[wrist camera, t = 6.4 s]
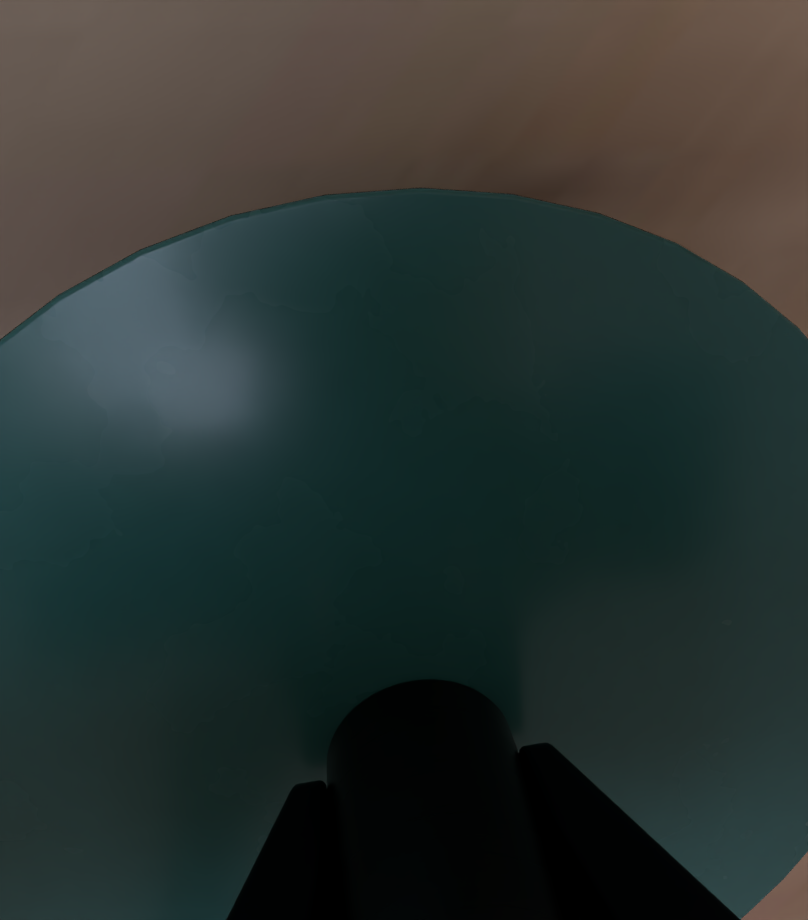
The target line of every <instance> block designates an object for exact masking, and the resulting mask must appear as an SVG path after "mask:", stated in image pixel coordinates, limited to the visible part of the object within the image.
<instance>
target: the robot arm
mask: <svg viewBox="0 0 808 920" xmlns="http://www.w3.org/2000/svg"><path fill="white" fill-rule="evenodd" d="M519 755H520V758H521V761H522V763H523V766H524V769H525V772H526V774H527V777H528V780H529V782H530V785H531V788H532V791H533V793H534V796H535V799H536V802H537V804H538V807H539V810H540V812H541V815H542V818H543V821H544V823H545V826H546V829H547V832H548V834H549V837H550V840H551V842H552V845H553V848H554V851H555V853H556V856H557V859H558V861H559V864H560V867H561V870H562V872H563V875H564V878H565V880H566V883H567V886H568V889H569V891H570V894H571V897H572V900H573V902H574V905H575V908H576V910H577V913H578V916H579V919H580V920H741V919H739V918H738V917H737V916H736V915H735V914H734V913H733V912H732V911H731V910H730V909H729V908H728V907H727V906H725V905H724V904H723V903H722V902H721V901H720V900H719V899H718V898H717V897H716V896H715V895H714V894H713V893H711V892H710V891H709V890H708V889H707V888H706V887H705V886H704V885H703V884H702V883H701V882H700V881H698V880H697V879H696V878H695V877H694V876H693V875H692V874H691V873H690V872H689V871H688V870H687V869H686V868H684V867H683V866H682V865H681V864H680V863H679V862H678V861H677V860H676V859H675V858H674V857H673V856H672V855H670V854H669V853H668V852H667V851H666V850H665V849H664V848H663V847H662V846H661V845H660V844H659V843H658V842H656V841H655V840H654V839H653V838H652V837H651V836H650V835H649V834H648V833H647V832H646V831H645V830H643V829H642V828H641V827H640V826H639V825H638V824H637V823H636V822H635V821H634V820H633V819H632V818H631V817H629V816H628V815H627V814H626V813H625V812H624V811H623V810H622V809H621V808H620V807H619V806H618V805H617V804H615V803H614V802H613V801H612V800H611V799H610V798H609V797H608V796H607V795H606V794H605V793H604V792H603V791H601V790H600V789H599V788H598V787H597V786H596V785H595V784H594V783H593V782H592V781H591V780H590V779H588V778H587V777H586V776H585V775H584V774H583V773H582V772H581V771H580V770H579V769H578V768H577V767H576V766H574V765H573V764H572V763H571V762H570V761H569V760H568V759H567V758H566V757H565V756H564V755H563V754H562V753H560V752H559V751H558V750H557V749H556V748H555V747H554V746H553V745H551V744H550V743H547V742H544V743H538V744H532V745H526V746H523V747H521V748H520V750H519ZM226 920H328V816H327V787H326V784H325V782H323V781H321V780H318V781H312V782H306V783H300V784H296V785H295V786H294V787H293V788H292V789H291V791H290V793H289V795H288V797H287V799H286V801H285V803H284V805H283V807H282V809H281V811H280V813H279V815H278V817H277V819H276V821H275V823H274V825H273V827H272V829H271V831H270V833H269V835H268V837H267V839H266V841H265V843H264V845H263V847H262V849H261V851H260V853H259V855H258V857H257V859H256V861H255V863H254V865H253V867H252V869H251V871H250V873H249V875H248V877H247V879H246V881H245V883H244V885H243V887H242V889H241V891H240V893H239V895H238V897H237V899H236V901H235V903H234V905H233V907H232V909H231V911H230V913H229V915H228V917H227V919H226Z"/></svg>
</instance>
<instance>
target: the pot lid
mask: <svg viewBox="0 0 808 920" xmlns="http://www.w3.org/2000/svg"><path fill="white" fill-rule="evenodd" d="M544 742H547V743H550V744H551V745H553V746H554V747H555V748H556V749H557V750H558V751H559V752H560V753H562V754H563V755H564V756H565V757H566V758H567V759H568V760H569V761H570V762H571V763H572V764H573V765H574V766H576V767H577V768H578V769H579V770H580V771H581V772H582V773H583V774H584V775H585V776H586V777H587V778H588V779H590V780H591V781H592V782H593V783H594V784H595V785H596V786H597V787H598V788H599V789H600V790H601V791H603V792H604V793H605V794H606V795H607V796H608V797H609V798H610V799H611V800H612V801H613V802H614V803H615V804H617V805H618V806H619V807H620V808H621V809H622V810H623V811H624V812H625V813H626V814H627V815H628V816H629V817H631V818H632V819H633V820H634V821H635V822H636V823H637V824H638V825H639V826H640V827H641V828H642V829H643V830H645V831H646V832H647V833H648V834H649V835H650V836H651V837H652V838H653V839H654V840H655V841H656V842H658V843H659V844H660V845H661V846H662V847H663V848H664V849H665V850H666V851H667V852H668V853H669V854H670V855H672V856H673V857H674V858H675V859H676V860H677V861H678V862H679V863H680V864H681V865H682V866H683V867H684V868H686V869H687V870H688V871H689V872H690V873H691V874H692V875H693V876H694V877H695V878H696V879H697V880H698V881H700V882H701V883H702V884H703V885H704V886H705V887H706V888H707V889H708V890H709V891H710V892H711V893H713V894H714V895H715V896H716V897H717V898H718V899H719V900H720V901H721V902H722V903H723V904H724V905H725V906H727V907H728V908H729V909H730V910H731V911H732V912H733V913H734V914H735V915H736V916H737V917H738V918H739V919H741V918H742V917H744V916H745V915H746V914H747V913H748V912H749V911H750V910H751V909H752V908H754V907H755V906H756V905H757V904H758V903H759V902H760V901H761V900H762V899H763V898H764V897H765V896H766V895H767V894H768V893H769V892H770V891H771V890H772V889H774V888H775V887H776V886H777V885H778V884H779V883H780V882H781V881H782V880H783V879H784V878H785V877H786V876H787V874H788V873H789V872H790V871H791V870H792V869H793V868H794V866H795V865H796V864H797V863H798V862H799V861H800V860H801V858H802V857H803V856H804V855H805V854H806V853H807V851H808V339H807V337H806V336H805V335H804V334H803V333H802V332H801V330H800V329H799V328H798V327H797V326H796V325H794V324H793V323H792V322H791V321H790V320H788V319H787V318H786V317H785V316H784V315H782V314H781V313H780V312H779V311H777V310H776V309H775V308H774V307H773V306H771V305H770V304H769V303H768V302H767V301H765V300H764V299H763V298H762V297H761V296H759V295H758V294H757V293H756V292H754V291H753V290H752V289H751V288H750V287H748V286H747V285H746V284H745V283H744V282H742V281H741V280H739V279H737V278H735V277H734V276H732V275H730V274H729V273H727V272H725V271H723V270H722V269H720V268H718V267H717V266H715V265H713V264H711V263H710V262H708V261H706V260H705V259H703V258H701V257H699V256H698V255H696V254H694V253H692V252H691V251H689V250H687V249H686V248H684V247H682V246H680V245H679V244H677V243H675V242H673V241H670V240H667V239H665V238H662V237H660V236H657V235H654V234H652V233H649V232H647V231H644V230H641V229H639V228H636V227H634V226H631V225H629V224H626V223H623V222H621V221H618V220H616V219H613V218H610V217H608V216H605V215H603V214H600V213H597V212H592V211H588V210H583V209H578V208H574V207H569V206H565V205H560V204H556V203H551V202H547V201H542V200H538V199H533V198H528V197H524V196H519V195H515V194H505V193H491V192H476V191H462V190H448V189H433V188H409V189H395V190H382V191H368V192H355V193H341V194H328V195H322V196H317V197H313V198H308V199H304V200H299V201H295V202H290V203H285V204H281V205H276V206H272V207H267V208H263V209H258V210H254V211H249V212H244V213H240V214H235V215H231V216H228V217H226V218H223V219H220V220H218V221H215V222H212V223H210V224H207V225H204V226H202V227H199V228H196V229H194V230H191V231H188V232H186V233H183V234H180V235H178V236H175V237H172V238H170V239H167V240H164V241H162V242H159V243H156V244H154V245H151V246H148V247H146V248H143V249H140V250H139V251H137V252H135V253H133V254H131V255H130V256H128V257H126V258H124V259H122V260H121V261H119V262H117V263H115V264H113V265H112V266H110V267H108V268H106V269H104V270H102V271H101V272H99V273H97V274H95V275H93V276H92V277H90V278H88V279H86V280H84V281H83V282H81V283H79V284H77V285H75V286H74V287H72V288H70V289H68V290H66V291H64V292H63V293H61V294H59V295H58V296H56V297H55V298H54V299H52V300H51V301H50V302H48V303H47V304H46V305H45V306H43V307H42V308H41V309H39V310H38V311H37V312H35V313H34V314H33V315H32V316H30V317H29V318H28V319H26V320H25V321H24V322H22V323H21V324H20V325H18V326H17V327H16V328H15V329H13V330H12V331H11V332H9V333H8V334H7V335H5V336H4V337H3V338H2V339H0V920H226V919H227V917H228V915H229V913H230V911H231V909H232V907H233V905H234V903H235V901H236V899H237V897H238V895H239V893H240V891H241V889H242V887H243V885H244V883H245V881H246V879H247V877H248V875H249V873H250V871H251V869H252V867H253V865H254V863H255V861H256V859H257V857H258V855H259V853H260V851H261V849H262V847H263V845H264V843H265V841H266V839H267V837H268V835H269V833H270V831H271V829H272V827H273V825H274V823H275V821H276V819H277V817H278V815H279V813H280V811H281V809H282V807H283V805H284V803H285V801H286V799H287V797H288V795H289V793H290V791H291V789H292V788H293V787H294V786H295V785H296V784H300V783H306V782H312V781H318V780H321V781H323V782H325V784H326V787H327V816H328V920H580V919H579V916H578V913H577V910H576V908H575V905H574V902H573V900H572V897H571V894H570V891H569V889H568V886H567V883H566V880H565V878H564V875H563V872H562V870H561V867H560V864H559V861H558V859H557V856H556V853H555V851H554V848H553V845H552V842H551V840H550V837H549V834H548V832H547V829H546V826H545V823H544V821H543V818H542V815H541V812H540V810H539V807H538V804H537V802H536V799H535V796H534V793H533V791H532V788H531V785H530V782H529V780H528V777H527V774H526V772H525V769H524V766H523V763H522V761H521V758H520V755H519V750H520V748H521V747H523V746H526V745H532V744H538V743H544Z"/></svg>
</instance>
